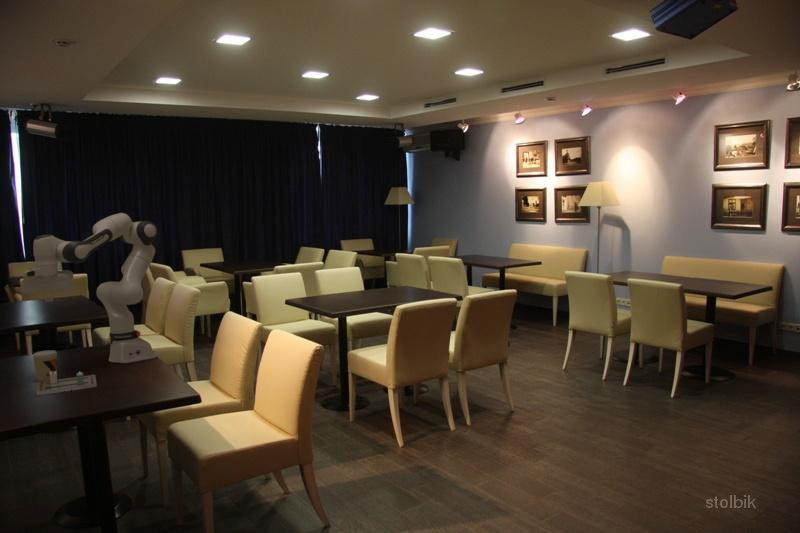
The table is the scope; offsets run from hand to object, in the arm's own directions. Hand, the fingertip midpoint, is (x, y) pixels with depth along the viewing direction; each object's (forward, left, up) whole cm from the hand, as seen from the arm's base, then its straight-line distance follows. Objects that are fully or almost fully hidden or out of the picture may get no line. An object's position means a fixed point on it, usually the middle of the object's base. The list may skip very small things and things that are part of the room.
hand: (49, 301), depth 271 cm
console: (-5, +23, -34) cm, 41 cm away
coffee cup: (+3, +5, -34) cm, 35 cm away
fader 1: (0, +19, -32) cm, 38 cm away
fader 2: (-10, +27, -32) cm, 43 cm away
